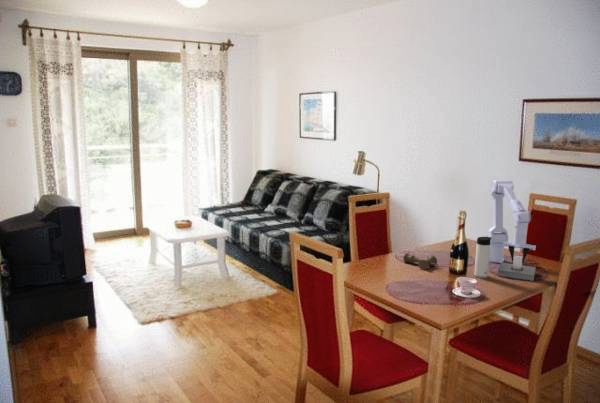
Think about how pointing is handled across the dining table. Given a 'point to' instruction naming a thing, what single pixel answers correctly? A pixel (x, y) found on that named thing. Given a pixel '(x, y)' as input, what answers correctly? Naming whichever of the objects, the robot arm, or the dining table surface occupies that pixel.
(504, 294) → the dining table surface
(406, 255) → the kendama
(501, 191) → the robot arm
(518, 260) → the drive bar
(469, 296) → the teacup
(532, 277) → the socket plate
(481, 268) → the travel mug
